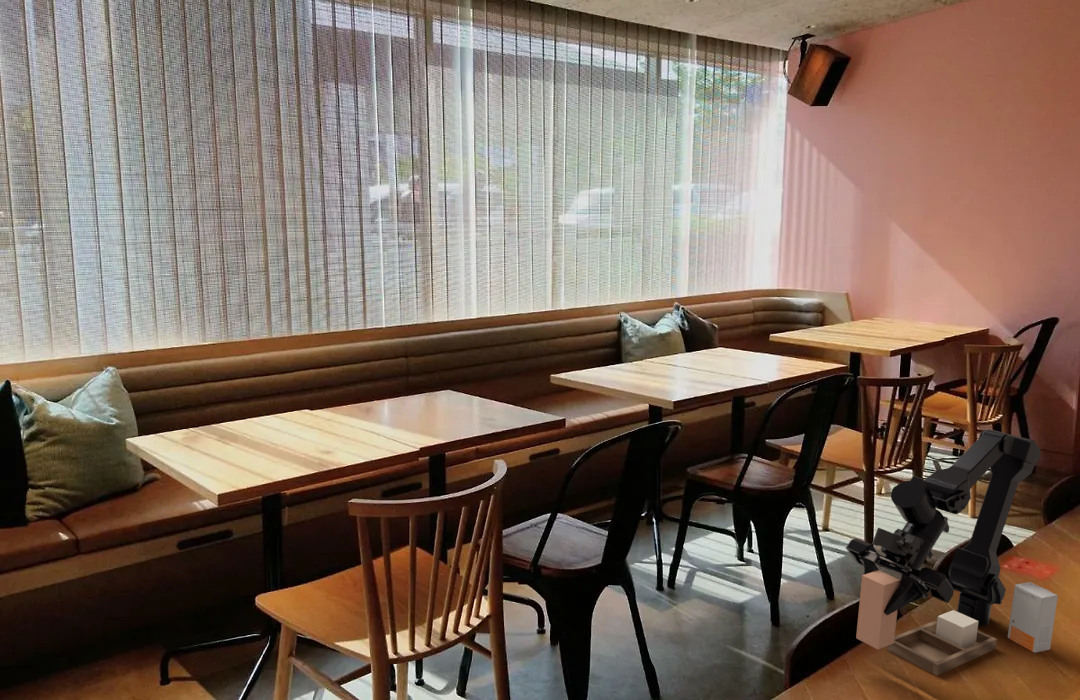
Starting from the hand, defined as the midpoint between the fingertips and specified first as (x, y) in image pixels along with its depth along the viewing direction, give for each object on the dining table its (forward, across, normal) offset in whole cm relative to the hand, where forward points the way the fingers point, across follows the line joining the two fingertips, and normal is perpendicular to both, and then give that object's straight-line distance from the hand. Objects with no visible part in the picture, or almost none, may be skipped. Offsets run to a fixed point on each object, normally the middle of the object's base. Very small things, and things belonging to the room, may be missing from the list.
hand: (873, 607), depth 147 cm
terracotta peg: (+4, 0, +6) cm, 7 cm away
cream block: (-8, +3, +23) cm, 25 cm away
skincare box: (-16, +10, +33) cm, 38 cm away
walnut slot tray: (-4, +3, +21) cm, 21 cm away
